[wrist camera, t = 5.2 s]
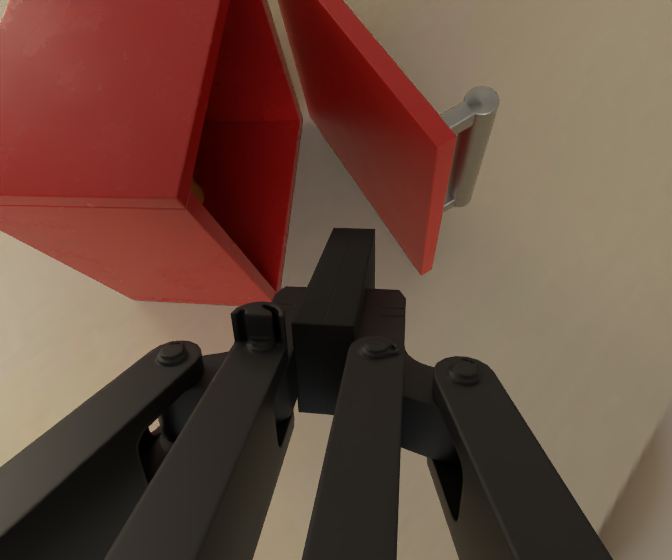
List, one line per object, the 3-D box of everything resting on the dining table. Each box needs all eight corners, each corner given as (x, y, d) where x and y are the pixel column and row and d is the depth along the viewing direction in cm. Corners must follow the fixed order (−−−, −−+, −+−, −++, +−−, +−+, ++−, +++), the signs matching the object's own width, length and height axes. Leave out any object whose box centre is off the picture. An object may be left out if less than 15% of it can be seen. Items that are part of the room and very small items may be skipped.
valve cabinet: (303, 118, 33) (240, -92, 20) (278, 308, 29) (176, 198, 16) (175, 119, 35) (38, -76, 21) (133, 300, 30) (-71, 194, 17)
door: (364, 85, 33) (344, -125, 21) (484, 238, 28) (550, 82, 16) (309, 116, 33) (255, -77, 20) (421, 275, 28) (437, 147, 16)
